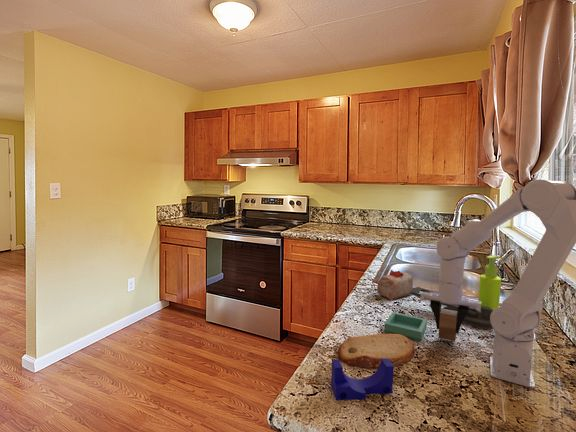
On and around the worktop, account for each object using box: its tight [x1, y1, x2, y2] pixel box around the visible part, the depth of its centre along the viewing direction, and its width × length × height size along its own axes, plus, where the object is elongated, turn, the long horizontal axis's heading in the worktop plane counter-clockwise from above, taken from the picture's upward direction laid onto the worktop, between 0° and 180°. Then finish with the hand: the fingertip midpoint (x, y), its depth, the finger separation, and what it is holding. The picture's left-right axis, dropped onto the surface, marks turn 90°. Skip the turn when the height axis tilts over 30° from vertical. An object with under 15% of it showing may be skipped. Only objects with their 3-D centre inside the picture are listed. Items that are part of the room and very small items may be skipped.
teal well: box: [383, 312, 428, 342], centre depth 95 cm, size 10×10×2 cm
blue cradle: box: [330, 358, 395, 401], centre depth 65 cm, size 12×4×6 cm, turn 95°
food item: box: [376, 269, 414, 301], centre depth 124 cm, size 14×8×10 cm, turn 124°
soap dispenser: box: [477, 254, 504, 312], centre depth 106 cm, size 6×7×20 cm
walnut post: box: [437, 307, 458, 343], centre depth 88 cm, size 4×4×7 cm
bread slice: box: [337, 333, 416, 370], centre depth 81 cm, size 18×18×4 cm
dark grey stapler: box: [410, 286, 494, 330], centre depth 106 cm, size 9×7×25 cm
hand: (447, 330), depth 88 cm, fingers closed on walnut post, 4 cm apart
